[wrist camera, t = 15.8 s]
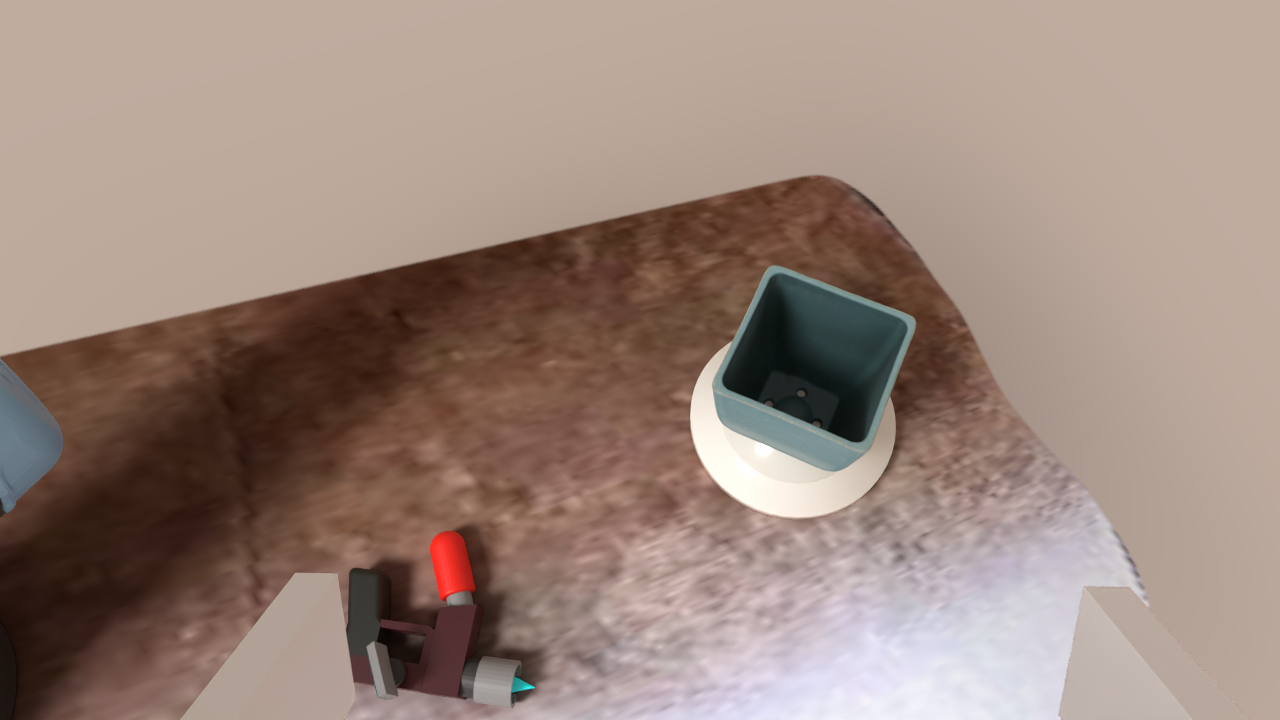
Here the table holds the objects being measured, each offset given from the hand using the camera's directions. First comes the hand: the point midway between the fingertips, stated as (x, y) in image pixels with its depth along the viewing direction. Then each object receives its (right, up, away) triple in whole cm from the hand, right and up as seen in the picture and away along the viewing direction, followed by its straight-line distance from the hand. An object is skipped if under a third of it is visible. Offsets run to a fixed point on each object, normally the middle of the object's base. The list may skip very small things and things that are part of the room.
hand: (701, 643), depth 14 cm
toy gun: (-12, -10, +34) cm, 37 cm away
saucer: (+9, +1, +38) cm, 39 cm away
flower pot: (+9, +1, +37) cm, 38 cm away
